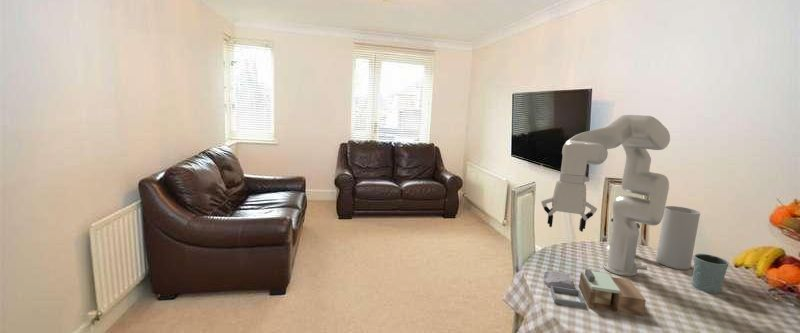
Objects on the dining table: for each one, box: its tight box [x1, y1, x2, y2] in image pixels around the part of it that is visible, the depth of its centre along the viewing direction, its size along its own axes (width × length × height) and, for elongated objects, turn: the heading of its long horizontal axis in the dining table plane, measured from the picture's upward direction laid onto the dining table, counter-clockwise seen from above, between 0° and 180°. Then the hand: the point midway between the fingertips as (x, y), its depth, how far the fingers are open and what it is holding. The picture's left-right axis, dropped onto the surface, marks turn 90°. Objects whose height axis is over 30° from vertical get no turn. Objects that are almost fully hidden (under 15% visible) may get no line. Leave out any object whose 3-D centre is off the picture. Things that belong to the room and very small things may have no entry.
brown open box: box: [578, 272, 647, 317], centre depth 128 cm, size 16×15×6 cm
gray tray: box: [549, 286, 586, 309], centre depth 128 cm, size 9×9×2 cm
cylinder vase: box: [655, 205, 701, 270], centre depth 164 cm, size 12×12×25 cm
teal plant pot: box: [691, 253, 730, 294], centre depth 143 cm, size 10×10×12 cm
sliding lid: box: [581, 268, 620, 294], centre depth 129 cm, size 8×14×3 cm, turn 166°
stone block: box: [543, 270, 575, 290], centre depth 140 cm, size 12×5×10 cm
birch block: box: [594, 290, 612, 305], centre depth 128 cm, size 5×5×5 cm
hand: (565, 228), depth 128 cm, fingers open, 9 cm apart
